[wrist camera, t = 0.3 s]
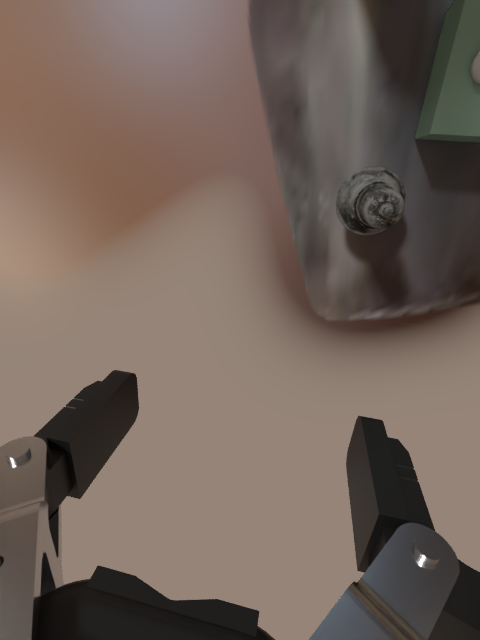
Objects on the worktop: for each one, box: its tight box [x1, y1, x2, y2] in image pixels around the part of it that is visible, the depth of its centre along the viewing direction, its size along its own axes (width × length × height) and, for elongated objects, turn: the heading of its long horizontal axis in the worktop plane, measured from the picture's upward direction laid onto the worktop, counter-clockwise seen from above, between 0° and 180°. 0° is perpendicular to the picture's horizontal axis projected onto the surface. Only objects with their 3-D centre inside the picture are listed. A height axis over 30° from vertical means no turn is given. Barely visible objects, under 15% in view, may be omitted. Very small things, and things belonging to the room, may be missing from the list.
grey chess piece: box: [336, 166, 405, 235], centre depth 28 cm, size 6×6×12 cm
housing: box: [415, 0, 480, 143], centre depth 26 cm, size 9×6×5 cm, turn 176°
